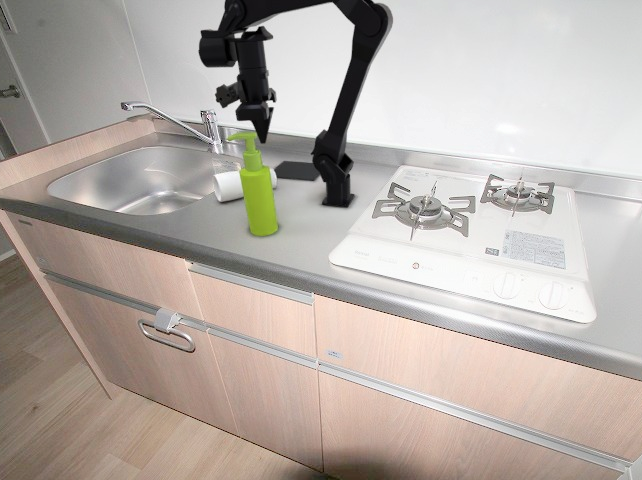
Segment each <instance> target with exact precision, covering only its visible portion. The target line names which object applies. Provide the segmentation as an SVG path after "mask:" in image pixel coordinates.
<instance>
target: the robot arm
mask: <svg viewBox="0 0 642 480" xmlns="http://www.w3.org/2000/svg"><path fill="white" fill-rule="evenodd" d="M328 4H333V5H334V6H335V7H336V8H337V9H338V10H339V11H340V12H341V13H342V15H344V17H345V18H346V19H347V20H348V21H349V22H350V23H351V24H352V25H354V26H353V33H352V39H351V54H350V55H351V57H350V60H349V64H348V67H347V70H346V72H345V76H344V78H343V83H342V85H341V88H340V91H339V95H338V98H337V101H336V104H335V106H334V109H333V112H332V116H331V119H330V122H329V126H328V129H327V130H326V129H322V131H321V132H319V134H318V135H317V136H315V141H314V147H313V149H312V151H311V152H310V155H311V156H312V160H311V163H313V165H314V167H315V168H316V169H317V170H318V171H319V173H320V174H319V176H320V178H321V180H322V182H323V183H325V194H326V196H325V197H324V198H323V200H322V201H321V204H322V205H323V206H331V207H332V206H333V207H341V208H348V207H349V206H350V205H351V203H352V201H353V200H354V198H355V195H356V194H355V193H351V174H350V172H351V171H352V169H353V167H354V164H355V161H354V160H353V159H352V158H351V157H350V156H349V155H348V154H347V153H346V148H347V139H348V130H349V127H350V125H351V122H352V119H353V116H354V113H355V111H356V108H357V105H358V102H359V99H360V97H361V94H362V92H363V89H364V86H365V84H366V80H367V78H368V74H369V72H370V69H371V66H372V64H373V62H374V61H375V59H376V57H377V55H378V54H379V52H380V50H381V49H382V47H383V45H384V43H385V41H386V40H387V38H388V37H389V34H390V32H391V31H392V27H393V24H394V16H393V13H392V10H391V9H390V7H389V6H388V5H387V4H385V3H383V2H375V1H373V0H224V4H223V5H224V7H223V9H224V11H223V15H222V17H221V20H220V23H219V25H218V28H217V29H210V28H208V29H201V30H200V36H201V37H200V39H199V41H198V42H199V43H198V52H197V53H198V56H199V59H200V61H201V64H202V65H203V66H204V67H205V68H208V69H210V68H233V67H234V66H236V62H237V67H238V74H237V76H236V82H235V81H234V82H233V83H231V84H229V85H226V84H225V83H223V84H222V85H220V86H217V87H215V90H216V91H215V93H214V96H215V101H216V103H219V105H220V106H221V108H222V109H225V108H228V106H230V105H231V104H233V103H236V102H237V101H239V103H240V104H239V105H238V106H237V108H236V109H235V110H234V112H235V117H236V121H237V122H251V124H252V126H253V128H254V130H255V133H257V138H258V140H259V143H260V144H264V145H265V144H266V143H267V139H268V136H269V135H268V134H269V131H270V126H271V123H272V118H273V115H274V110H275V107H274V106H269V104H268V101H272V103H275V104H276V103H277V101H278V100H277V99H278V98H277V92H276V90H275V89H273V88H272V87H270V83H269V76H270V72H269V69H268V67H267V59H266V52H265V51H266V50H265V44H264V43H265V42H266V41H272V40H273V39H274V35H273V34H272V33H270V32H269V31H268V30H267V28H266V27H265V26H264V25H261V24H264V23H266V22H268V21H269V20H272V19H273V18H275V17H277V16H279V15H281V14H285V13H290V12H295V11H299V10H304V9H308V8H313V7H317V6H323V5H328ZM259 25H260V26H259ZM252 27H253V28H254V27H257V28H256V30H248V29H249V28H252ZM237 34H241V35H240V37H236V35H237Z"/></svg>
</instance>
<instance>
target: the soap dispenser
mask: <svg viewBox="0 0 642 480" xmlns="http://www.w3.org/2000/svg"><path fill="white" fill-rule="evenodd" d="M257 138H258V135H257V133H256V132H251V131H250V132H247V131H243V132H237V133H233V134H230V135H228V136H227V137H226V140H227V141H228V142H232V141H234V140H244V142H245V150H244V151H243V152H242V157H243V163H244V167H243V168H241V169H240V170H238V171H239V174H240V179H241V184H242V189H243V195H244V197H243V199H244V205H245V209H246V215H247V220H248V225H249V231H250V233H251V234H252V235H254V236H257V237H266V236H270V235H272V234H274V233H275V232H277V231H278V229H279V226H278V225H279V224H278V218H277V210H276V204H275V197H274V190H273V188H272V181H271V174H270V168H271V167H269V166H268V165H264V164H263V159H262V158H263V157H262V151H261V150H260V149H258V148H256V142H255V140H256V139H257Z"/></svg>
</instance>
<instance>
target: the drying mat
mask: <svg viewBox="0 0 642 480" xmlns="http://www.w3.org/2000/svg"><path fill="white" fill-rule="evenodd" d="M273 170H274V171H275V173H276V177H277V179H286V180H297V181H309V182H314V181H315V180H316V179H317V178H318V177H319V176H320V173H319V171H318V170H317V169H316V168H315V167H314V165H313V163H312V162H306V161H305V162H303V161H293V160H291V161H289V160H283V161H282V162H280V164H279V165H277V166H276V167H275V168H273Z"/></svg>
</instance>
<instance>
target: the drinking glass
mask: <svg viewBox="0 0 642 480" xmlns="http://www.w3.org/2000/svg"><path fill="white" fill-rule="evenodd" d="M269 168H270V174H271V181H272V188H273V189H276V187H277V186H278V178H277V177H276V173H275V171H274V168H272V167H269ZM239 171H240V170H233V171H232V170H231V171H225V172H224V171H223V172H220V173H216V174H213V175H212V180H211V181H212V186H213V190H214V194H215V196H216V199H217V201H218V202H220V203H223V202H229V201H230V202H231V201H235V200H239V199H241V198H244V195H243V189H242V184H241V179H240V174H239Z"/></svg>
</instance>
